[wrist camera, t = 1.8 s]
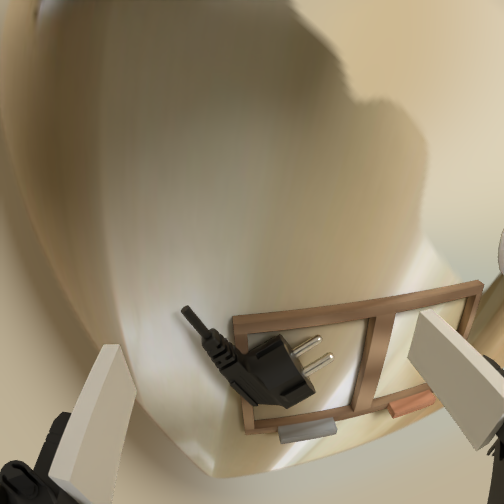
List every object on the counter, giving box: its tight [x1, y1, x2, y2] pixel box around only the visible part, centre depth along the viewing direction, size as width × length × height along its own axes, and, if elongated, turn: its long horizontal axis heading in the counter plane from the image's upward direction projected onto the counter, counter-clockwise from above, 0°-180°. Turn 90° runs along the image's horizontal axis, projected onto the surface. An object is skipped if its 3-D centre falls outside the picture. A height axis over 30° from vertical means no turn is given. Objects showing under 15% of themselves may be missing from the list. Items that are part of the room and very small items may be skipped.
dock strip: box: [233, 280, 484, 444], centre depth 26 cm, size 15×26×3 cm, turn 93°
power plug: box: [181, 305, 334, 409], centre depth 21 cm, size 6×8×12 cm
